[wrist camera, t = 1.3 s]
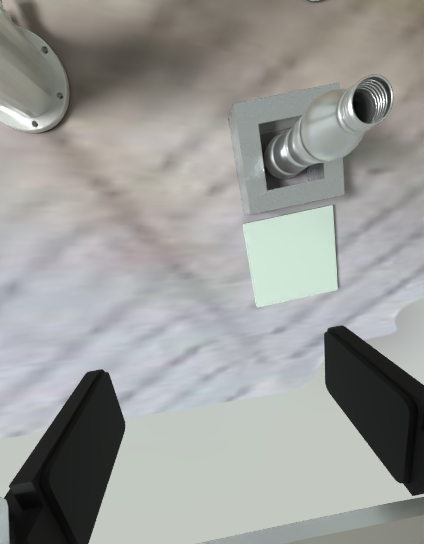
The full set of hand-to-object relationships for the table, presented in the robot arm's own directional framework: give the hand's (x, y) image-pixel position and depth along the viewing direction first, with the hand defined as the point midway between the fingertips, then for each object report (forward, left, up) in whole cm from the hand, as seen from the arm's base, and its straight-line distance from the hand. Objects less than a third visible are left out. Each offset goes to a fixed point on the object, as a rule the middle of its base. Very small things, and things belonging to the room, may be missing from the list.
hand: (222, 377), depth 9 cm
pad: (+4, +16, -32) cm, 36 cm away
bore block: (-13, +16, -32) cm, 38 cm away
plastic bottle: (-13, +16, -32) cm, 38 cm away
